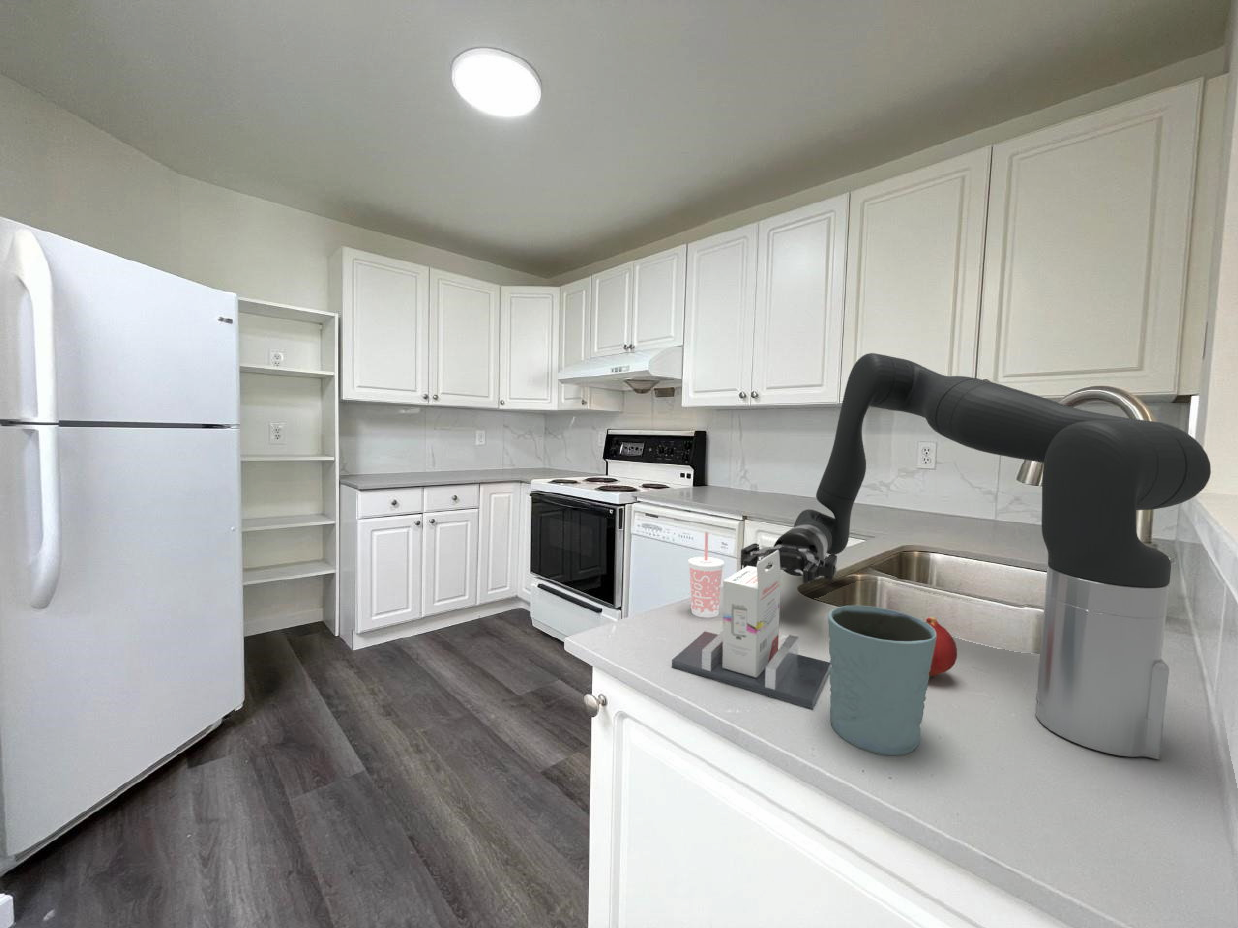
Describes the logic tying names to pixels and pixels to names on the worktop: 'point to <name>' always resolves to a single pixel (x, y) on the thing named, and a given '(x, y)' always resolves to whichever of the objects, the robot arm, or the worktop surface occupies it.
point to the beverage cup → (705, 584)
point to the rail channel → (779, 679)
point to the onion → (942, 649)
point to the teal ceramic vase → (879, 677)
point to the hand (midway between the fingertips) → (775, 571)
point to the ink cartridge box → (751, 617)
